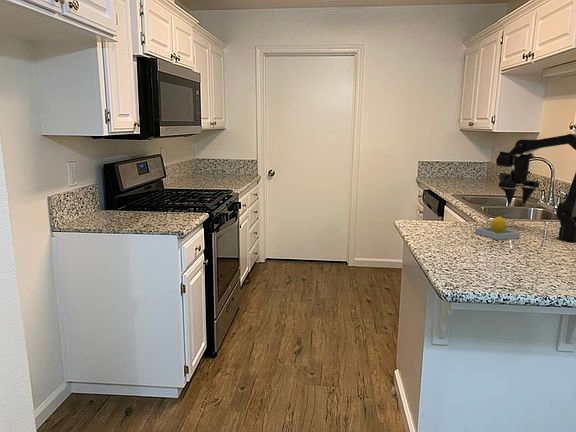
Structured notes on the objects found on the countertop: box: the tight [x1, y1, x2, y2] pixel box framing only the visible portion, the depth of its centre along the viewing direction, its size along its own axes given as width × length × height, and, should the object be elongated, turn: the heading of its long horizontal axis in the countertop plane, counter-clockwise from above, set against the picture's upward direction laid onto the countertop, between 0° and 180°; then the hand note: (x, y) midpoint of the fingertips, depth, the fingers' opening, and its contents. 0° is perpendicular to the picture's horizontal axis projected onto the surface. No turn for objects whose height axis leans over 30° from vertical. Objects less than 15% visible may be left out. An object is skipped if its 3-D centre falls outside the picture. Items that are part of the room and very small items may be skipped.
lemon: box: [490, 215, 507, 234], centre depth 187 cm, size 6×6×8 cm
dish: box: [474, 226, 521, 241], centre depth 187 cm, size 12×12×2 cm
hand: (516, 203), depth 200 cm, fingers open, 9 cm apart
